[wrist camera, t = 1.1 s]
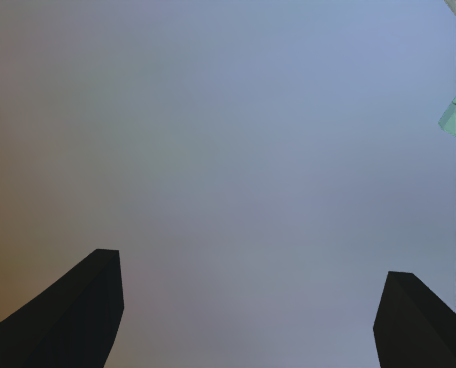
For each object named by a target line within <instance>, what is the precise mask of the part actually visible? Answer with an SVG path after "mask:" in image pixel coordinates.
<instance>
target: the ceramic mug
mask: <svg viewBox="0 0 456 368" xmlns="http://www.w3.org/2000/svg"><path fill="white" fill-rule="evenodd" d="M444 1H445V2H446V4H447V5H448V6H449V8H450V9H451V10H452V12H453V13H454V14H455V16H456V0H444Z"/></svg>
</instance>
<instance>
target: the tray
mask: <svg viewBox="0 0 456 368" xmlns="http://www.w3.org/2000/svg"><path fill="white" fill-rule="evenodd" d="M438 124H439V126H440V127H441V129H442V130H444V131H446V132H448V133H450V134H452V135H454V136H456V97H455V99H454V100H453V101H452V103H451V104H450V106H449V107H448V109H447V110H446V112H445V113H444V115H443V116H442V118H441V119H440V121H439V122H438Z"/></svg>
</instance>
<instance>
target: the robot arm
mask: <svg viewBox="0 0 456 368" xmlns="http://www.w3.org/2000/svg"><path fill="white" fill-rule="evenodd" d="M123 311H124V300H123V289H122V278H121V268H120V257H119V250H107V249H96V250H95V251H93V252H92V253H91V254H89V255H88V256H87V257H86V258H84V259H83V260H82V261H81V262H79V263H78V264H77V265H76V266H75V267H73V268H72V269H71V270H70V271H68V272H67V273H66V274H65V275H63V276H62V277H61V278H60V279H58V280H57V281H56V282H55V283H53V284H52V285H51V286H50V287H48V288H47V289H46V290H44V291H43V292H42V293H41V294H39V295H38V296H37V297H35V298H34V299H32V300H31V301H30V302H28V303H27V304H25V305H24V306H23V307H21V308H20V309H18V310H17V311H16V312H14V313H13V314H11V315H10V316H9V317H7V318H6V319H5V320H3V321H2V322H0V368H103V367H104V365H105V362H106V360H107V358H108V355H109V353H110V351H111V348H112V346H113V344H114V341H115V338H116V334H117V331H118V328H119V325H120V321H121V318H122V314H123ZM373 332H374V337H375V343H376V348H377V353H378V358H379V362H380V366H381V368H456V313H455V312H453V311H452V310H451V309H450V308H449V307H448V306H447V305H446V304H445V303H444V302H443V301H442V300H441V299H440V298H439V297H438V296H437V295H436V294H435V293H433V292H432V291H431V290H430V289H429V288H428V287H427V286H426V285H425V284H424V283H423V282H422V281H421V280H420V279H419V278H417V277H416V276H415V275H414V274H413V273H406V272H393V271H389V272H388V275H387V279H386V283H385V286H384V290H383V293H382V297H381V301H380V304H379V308H378V312H377V315H376V319H375V322H374V326H373Z"/></svg>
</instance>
